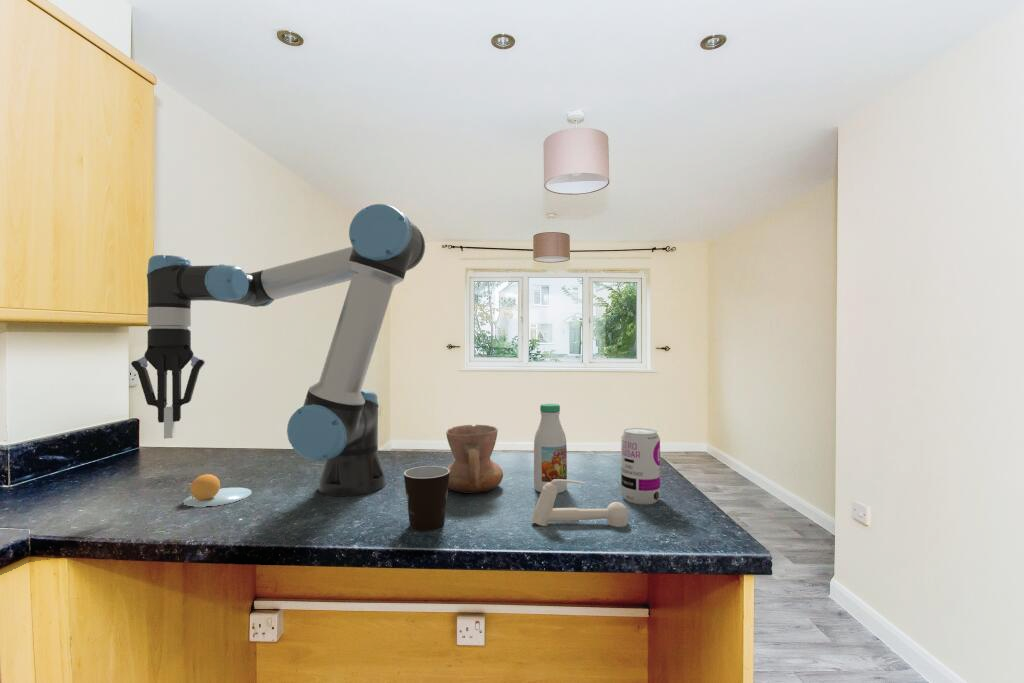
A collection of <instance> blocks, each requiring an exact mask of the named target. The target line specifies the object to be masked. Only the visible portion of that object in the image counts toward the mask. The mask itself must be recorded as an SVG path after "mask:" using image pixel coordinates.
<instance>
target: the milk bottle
mask: <svg viewBox="0 0 1024 683" xmlns="http://www.w3.org/2000/svg"><path fill="white" fill-rule="evenodd" d="M539 407H540V408H539V409H540V415H541V416H540V422H539V425H538V427H537V429H536V431H535V434H534V440H533V487H534V490H535V491H536V492H538V493H541V491H542V488H543V486H544V485H545V484H547V483H548V482H550V483H551V481H552V480H554V479H563V480H568V476H567V475H568V460H567V458H568V455H567V454H568V451H567V437H566V433H565V431H564V429H563V427H562V424H561V420H560V413H561V412H560V411H561V406H560V404H558V403H542V404H540V406H539ZM556 487H557V494H561V493H562V494H563V493H564V492H566V490H567V488H568V482H564V483H556Z"/></svg>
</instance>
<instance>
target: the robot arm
mask: <svg viewBox="0 0 1024 683" xmlns="http://www.w3.org/2000/svg"><path fill="white" fill-rule="evenodd" d="M348 233H349V234H348V237H349V241H350V243H351V246H350V247H344V248H341V249H338V250H334V251H331V252H327V253H322V254H319V255H315V256H314V255H313V256H311V257H308V258H307V257H306V258H303V259H299V260H296V261H292V262H289V263H285V264H284V263H283V264H281V265H277V266H273V267H270V268H265V269H264V270H263V269H262V270H258V271H255V272H249V273H248V272H245V271H243V269H242V268H241V267H240V266H237V265H230V264H229V265H227V264H217V265H214V264H213V265H191V264H192V263H191V261H190V259H189V258H186V257H184V256H179V255H178V256H177V255H173V254H172V255H166V254H156V255H155V254H154V255H152V256H151V257H150V258H149V259H148V266H147V273H146V280H147V326H148V327H150V328H148V330H147V347H146V351H145V352H144V356H142V357H141V358H139V359H137V360H133V361H131V363H130V364H131V366H132V368H133V369H134V370H135V371H136V372H137V375H138V378H139V382H140V385H141V389H142V391H143V395H144V399H145V401H146V404H147V405H148V406H152V407H156V408H157V422H158V424H159V423H160V424H162V423H163V439H173V438H174V437H175V436H176V433H175V432H176V422H180V421H181V419H182V406H183V405H186V404H189V403H191V401H192V398H193V395H194V391H195V388H196V384H197V380H198V377H199V373H200V370H201V369H202V368H203V366H204V365H205V364H206V361H205V360H204V359H201V358H199V357H197V356H195V355H194V352H193V350H192V347H191V339H192V338H191V337H192V336H191V335H192V333H191V332H192V331H191V330H190V329H189V328H191V325H192V324H191V322H192V320H191V318H192V317H191V314H192V313H191V312H192V311H191V307H192V306H191V305H192V303H191V302H192V301H193V302H194V301H213V302H215V301H216V302H222V303H230V304H237V305H244V306H248V307H249V306H250V307H254V308H258V307H266V306H269V305H271V304H272V303H273V302H274V301H275V300H279V299H282V298H286V297H291V296H295V295H298V294H302V293H307V292H309V291H311V292H312V291H315V290H317V289H318V290H319V289H322V288H326V287H329V286H334V285H338V284H342V283H347V282H349V281H350V283H349V285H348V289H347V291H346V296H345V299H344V301H343V305H342V308H341V311H340V314H339V317H338V320H337V324H336V328H335V330H334V333H333V337H332V340H331V342H330V345H329V349H328V352H327V354H326V355H327V356H326V358H325V362H324V365H323V368H322V372H321V375H320V377H319V381H318V382H316V383H314V384H313V385H311V386H309V387H308V390H307V393H306V397H305V399H304V402H303V406H301V407H300V408H297V409H296V411H294V412H293V414H292V415H291V416H290V418H289V420H288V422H287V427H286V428H287V429H286V434H287V440H288V442H289V444H290V445H291V447H292V449H293V450H294V452H295V453H296V454H298V456H300V457H302V458H304V459H306V460H308V461H313V462H321V461H324V465H323V467H322V471H321V473H320V476H319V480H318V492H319V493H321V494H322V495H326V496H330V497H331V496H332V497H349V496H350V497H351V496H359V495H365V494H369V493H372V492H375V491H379V490H380V489H382V488H383V487H385V485H386V473H385V471H384V467H383V465H382V461H381V458H380V456H379V452H378V450H379V448H378V447H379V446H378V443H379V442H378V441H379V426H378V425H379V408H380V407H379V403H378V395H377V393H376V392H374V391H364V390H363V391H362V389H363V385H364V382H365V379H366V375H367V373H368V370H369V367H370V363H371V360H372V357H373V354H374V351H375V346H376V343H377V340H378V337H379V335H380V331H381V328H382V325H383V323H384V322H383V321H384V318H385V316H386V312H387V309H388V305H389V303H390V299H391V296H392V292H393V289H394V288H395V286H396V285H398V284H400V283H402V282H403V281H404V279H405V277H406V273H407V271H410V270H412V269H414V268H415V267H416V266H418V265H419V264H420V262H421V261H422V259H423V257H424V255H425V252H426V251H425V250H426V245H425V244H426V242H425V238H424V236H423V234H422V232H421V230H420V229H419V228H418V227H417V226H416V225H415V224H414V223H412V221H410V219H409V217H408V216H407V215H406V213H404V212H402V211H401V210H398V209H397V208H396V207H394V206H391V205H388V204H385V203H374V204H370V205H368V206H366V207H365V208H362V209H361V210H359V211H358V212H357V213H356V214H355V215H354V217H353V218H352V220H351V222H350V225H349V230H348ZM190 361H191V363H190V366H191V367H192V368H191V369H190V370H191V371H190V373H189V378H188V381H187V384H186V388H185V391H184V393H183V394H184V395H183V397H182V371H183V369H184V368H185V366H187V365H188V364H189V362H190ZM148 363H149V364H150V365H151V366H152V367H153V368H154V369H155V370H156V376H157V392H156V394H157V396H156V395H155V392H154V388H153V385H152V381H151V378H150V375H149V371H148V369H147V367H148ZM168 371H169V372H171V377H172V378H171V379H172V380H171V381H172V386H171V388H172V390H171V391H172V393H171V395H172V397H171V399H172V401H171V402H172V403H171V406H167V405H168V402H167V401H168V396H167V395H168V394H167V393H168V392H167V391H168V390H167V389H168V384H167V383H168ZM156 397H157V398H156Z"/></svg>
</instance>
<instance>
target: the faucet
mask: <svg viewBox="0 0 1024 683" xmlns="http://www.w3.org/2000/svg"><path fill="white" fill-rule="evenodd" d="M564 482H567V483H573V484H583V485H584V484H585V485H586V484H588V483H587V482H585V481H578V480H572V479H567V480H563V479H554V480H552V481H551V483H550V482H548V483H547V484H545V485H544V486H543V488H542V491H541V492H540V494H539V496H538V500H537V503H536V504H535V507H534V509H533V513H532V514H531V515H532V516H531V517H530V520H531V522H532V523H534V524H537V525H539V526H541V527H547V526H548V524H549V522H552V523H553V522H560V523H561V522H563V523H564V522H567V523H568V522H569V523H570V522H574V523H575V522H580V521H587V520H588V521H589V520H603V519H607V525H609V526H611V527H617V528H623V527H626V526H627V525H628V515H629V513H628V509H627V507H626V506H625V505H624V504H623V503H622V502H620V501H613V502H610V503H609V505H607V507H606V508H579V507H555V508H554V503H555V500H556V497H557V495H558V493H557V487H556V483H564Z"/></svg>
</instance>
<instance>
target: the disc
mask: <svg viewBox="0 0 1024 683" xmlns="http://www.w3.org/2000/svg"><path fill="white" fill-rule="evenodd" d="M252 494H253V493H252V489H249V488H247V487H223V488H221V487H220V489H219V491H218V493H217V494H216V495H215V496H214V497H212V498H211V499H208V500H198V499H196V498H194V497H193V499H192V495H190V496H188V497H186V498H185V499H183V501H182V504H183V503H184V504H185V505H187V506H186V507H188V506H194V507H193V508H207V507H206V506H213V507H219V506H218V505H220V506H225V505H230V504H233V502H234V503H236V501H237V502H239V500H240V501H243V500H244V499H247V498H249V497H250V496H251V495H252ZM242 499H243V500H242ZM190 500H191V501H190ZM229 503H230V504H229ZM184 504H183V505H184ZM224 504H225V505H224ZM185 505H184V506H185Z"/></svg>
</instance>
